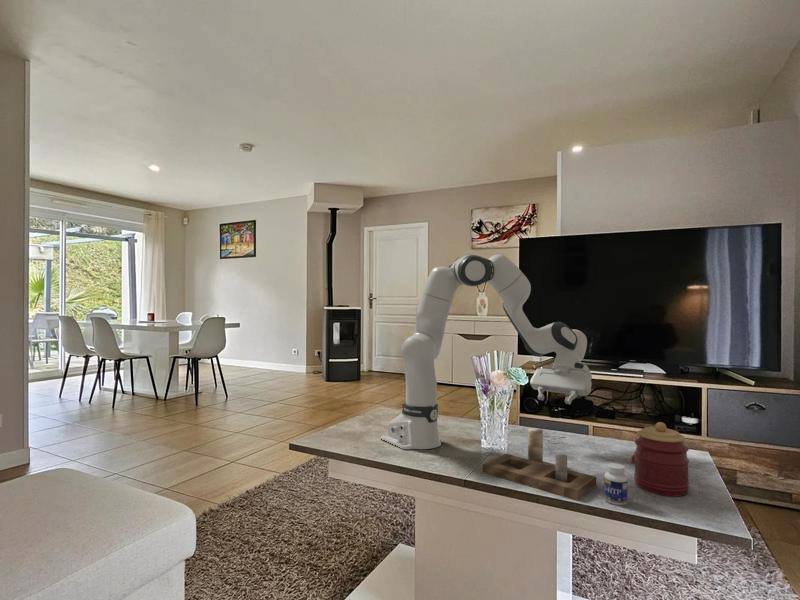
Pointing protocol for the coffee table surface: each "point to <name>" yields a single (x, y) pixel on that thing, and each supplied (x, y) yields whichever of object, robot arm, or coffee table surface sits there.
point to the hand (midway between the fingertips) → (553, 401)
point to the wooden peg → (535, 445)
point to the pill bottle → (615, 484)
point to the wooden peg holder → (542, 475)
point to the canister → (661, 461)
